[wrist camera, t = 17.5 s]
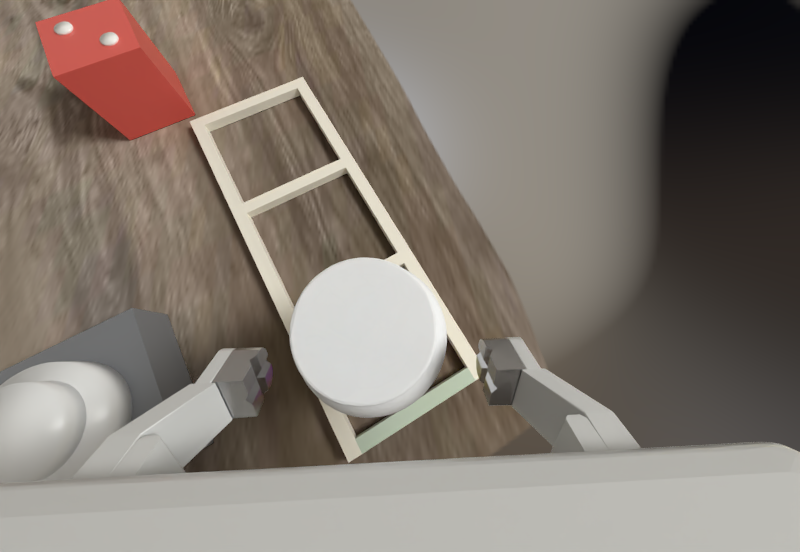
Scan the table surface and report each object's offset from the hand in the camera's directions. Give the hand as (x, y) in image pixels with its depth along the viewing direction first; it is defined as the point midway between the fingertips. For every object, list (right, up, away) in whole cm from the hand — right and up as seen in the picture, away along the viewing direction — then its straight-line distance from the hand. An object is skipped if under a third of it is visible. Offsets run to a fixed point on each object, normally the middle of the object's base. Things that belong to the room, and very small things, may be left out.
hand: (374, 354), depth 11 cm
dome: (-18, -6, +6) cm, 20 cm away
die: (-22, +19, +16) cm, 33 cm away
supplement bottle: (-1, -2, +10) cm, 11 cm away
